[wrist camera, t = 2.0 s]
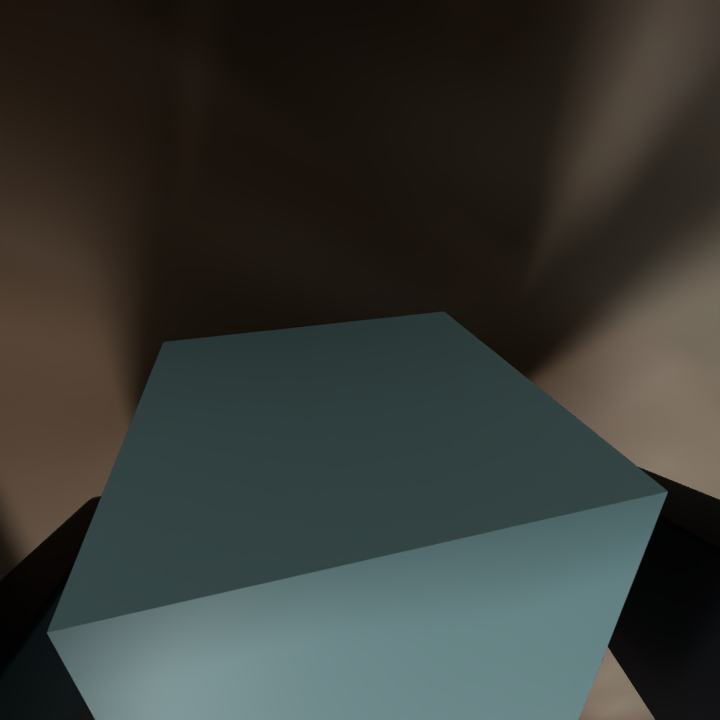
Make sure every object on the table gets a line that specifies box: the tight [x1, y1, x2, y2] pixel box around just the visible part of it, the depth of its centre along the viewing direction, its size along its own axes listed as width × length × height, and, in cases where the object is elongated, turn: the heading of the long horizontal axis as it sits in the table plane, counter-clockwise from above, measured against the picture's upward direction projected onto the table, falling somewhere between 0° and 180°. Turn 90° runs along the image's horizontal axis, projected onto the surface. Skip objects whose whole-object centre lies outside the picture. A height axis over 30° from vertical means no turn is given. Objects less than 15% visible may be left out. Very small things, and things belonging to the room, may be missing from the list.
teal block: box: [47, 311, 668, 720], centre depth 7 cm, size 5×5×5 cm
